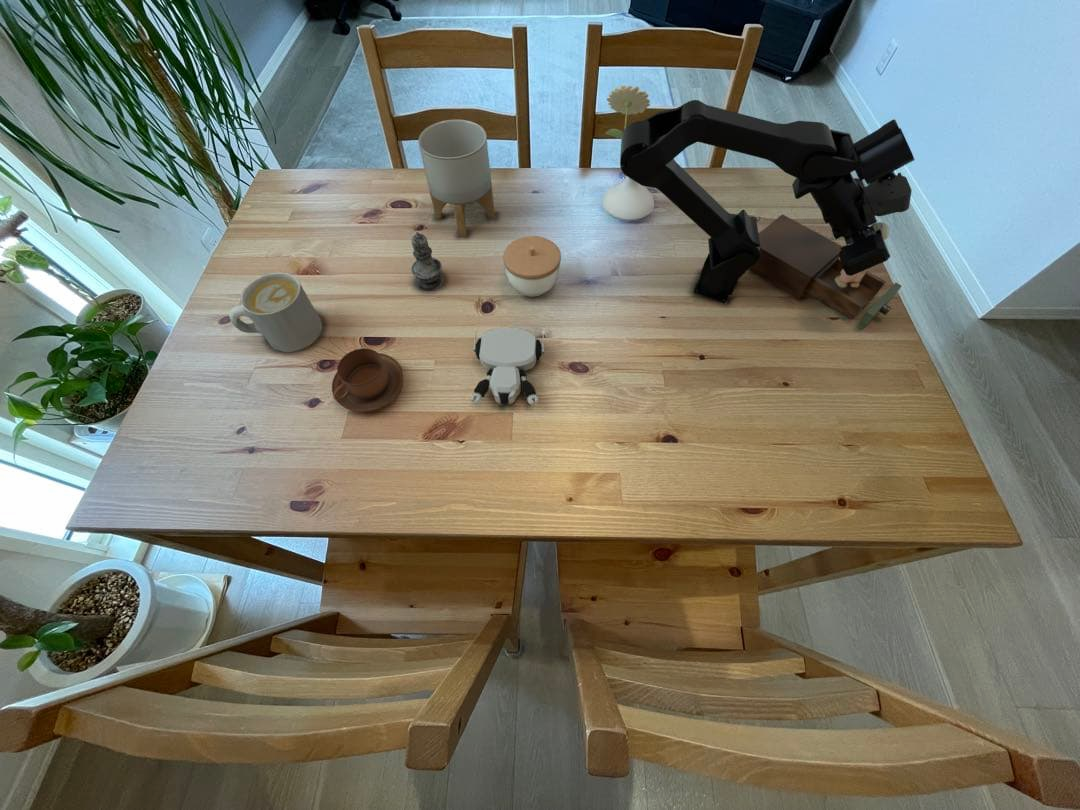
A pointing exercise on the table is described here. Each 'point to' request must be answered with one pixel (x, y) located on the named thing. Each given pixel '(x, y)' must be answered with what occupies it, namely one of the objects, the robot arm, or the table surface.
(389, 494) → the table surface
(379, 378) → the cup and saucer
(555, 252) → the trinket box
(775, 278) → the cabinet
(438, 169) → the planter
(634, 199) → the flower in vase
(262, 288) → the coffee mug
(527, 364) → the robot toy
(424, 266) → the stone statuette
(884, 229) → the grandmother figurine
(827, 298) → the drawer
